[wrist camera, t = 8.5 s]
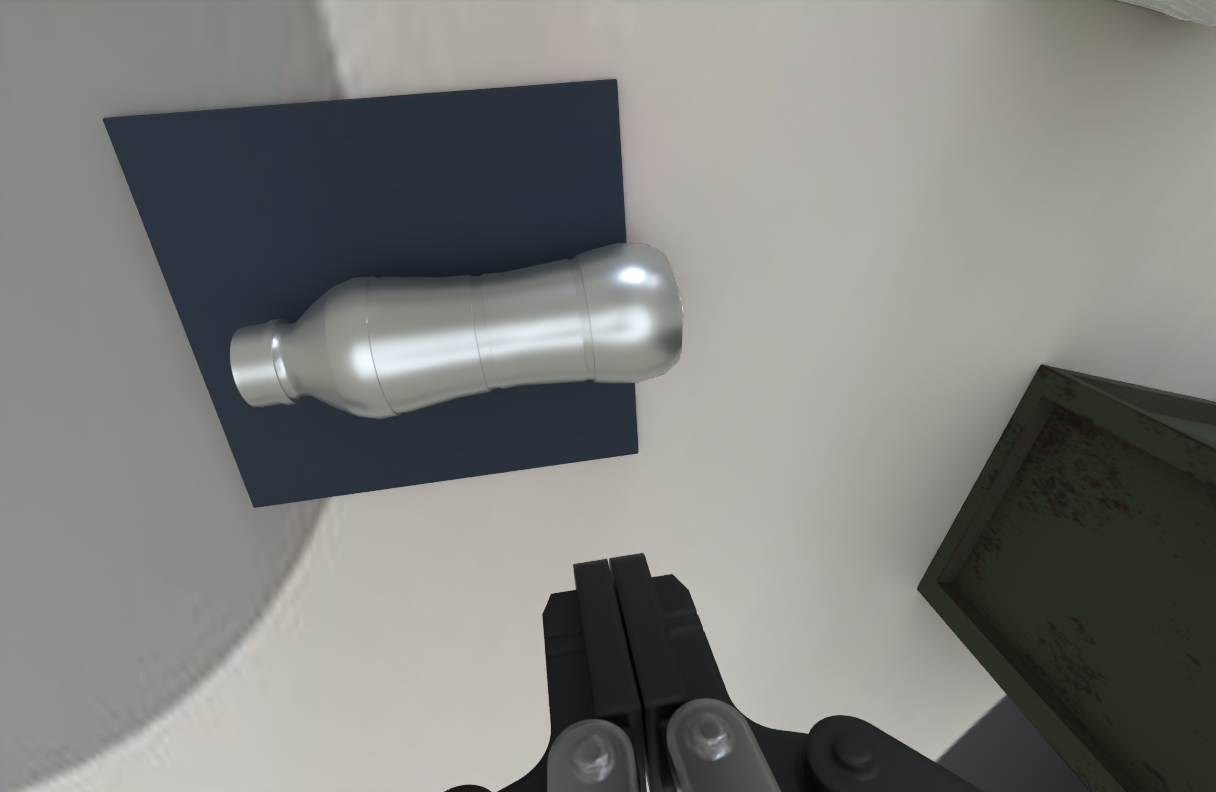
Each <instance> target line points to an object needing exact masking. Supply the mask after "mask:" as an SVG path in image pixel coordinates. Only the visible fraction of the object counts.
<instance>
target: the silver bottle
mask: <svg viewBox="0 0 1216 792" xmlns="http://www.w3.org/2000/svg"><path fill="white" fill-rule="evenodd" d="M682 331H683V304H682V299H681V296H680V293H679V290H678V287H677V284H676V281H675V278H674V275H673V271H672V268H671V266H670V263H669V260H668V259H667V257H666V255H665V254H664V253H663V252H661V251H659V250H657V249H655V248H653V247H651V246H649V245H646V244H627V243H615V244H612V245H608V246H604V247H600V248H596V249H592V250H589V251H586V252H583V253H581V254H578V255H575V258H573V259H570V260H568V259H564V260H559V261H554V262H550V263H545V264H540V265H535V266H531V267H526V268H521V269H517V270H512V271H507V272H502V273H488V274H482V276H471V275H462V276H450V277H380V278H377V277H374V276H373V277H357V278H352V279H350V280H348V281H345V282H343V283H341V284H338V285H336V286H334V287H332V288H331V289H329V290H328V291H327V292H326V293H325V294H324V295H322V296H321V297H320V298H319V299H318V300H317V301H315V302H314V303H313V304H312V305H311V307H310V308H309V309H308V310H307V311H306V312H305V313H304V314H303V315H302V316H301V317H300V318H299V319H298V320H297V321H296V322H295V323H292V324H291V323H290V322H289V321H287V320H286V319H275V320H271V321H268V322H267V323H264V324H258V325H251V326H245V327H243V328H240V329H238V330H237V331H236V332H235V333H234V335H233V337H232V340H231V346H230V361H231V368H232V373H233V377H234V380H235V383H236V385H237V388H238V390H239V392H240V394H241V395H242V397H243V398H244V400H245V401H246V402H247V403H248V404H250V405H251V406H253V407H266V406H272V405H278V404H286V405H291V404H297V403H301V402H302V401H303V400H304V398H305V396H312V397H314V398H316V399H318V400H320V401H322V402H324V403H326V404H328V405H330V406H332V407H334V408H337V409H340V410H342V411H345V412H348V413H350V414H353V415H356V416H359V417H367V418H375V419H383V418H387V417H392V416H397V415H400V414H402V412H405V413H407V412H411V411H414V410H418V409H421V408H425V407H428V406H432V405H435V404H438V403H442V402H445V401H449V400H452V399H456V398H459V397H465V396H470V395H475V394H480V393H485V392H490V391H491V390H492V389H497V388H501V389H506V388H511V387H516V386H521V385H536V384H552V383H568V382H584V381H586V380H593V381H594V382H597V383H639V382H642V381H645V380H648V379H651V378H654V377H657V376H660V375H664V374H665V373H666V372H667V371H668V370H669V369H671V368H672V367H673V366H674V365H675V364H676V363H677V362H678V361H679V359H680V356H681V349H682Z"/></svg>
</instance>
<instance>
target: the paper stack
mask: <svg viewBox="0 0 1216 792" xmlns="http://www.w3.org/2000/svg"><path fill="white" fill-rule="evenodd" d="M1117 1H1120V2H1125V3H1129V4H1134V5H1137V6H1141V7H1145V8H1148V9H1152V10H1155V11H1158V12H1161V13H1164V14H1167V15H1169V16H1172V17H1175V18H1177V19H1180V20H1183V21H1188V20H1191V21H1194V22H1197V23H1200V24H1203V25H1207V26H1216V0H1117Z"/></svg>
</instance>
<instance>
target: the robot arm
mask: <svg viewBox="0 0 1216 792" xmlns="http://www.w3.org/2000/svg"><path fill="white" fill-rule="evenodd" d="M609 565H610V569H609ZM573 569H574V577H575V585H576V590H572V591H566V592H560V593H554V594H551V596H550V598H549V600H548V603H547V605H546V607H545V610H544V612H543V628H544V639H545V654H546V668H547V681H548V694H549V707H550V720H551V736H550V741H549V744H548V747H547V750H546V752H545V754H544V756H543V757H542V759H541V760H540V761H539V763H538V764H537V765H536V766H535V767H534V768H533V769H532V770H531V771H530V772H529V773H528V774H527V775H525V776H524V777H522V778H521V779H519V780H518V781H516V782H514V783H512V784H510V785H509V786H507V787H505V788H503V789H501V790H499V791H498V792H647V788H646V776H647V781H648V786H649V791H650V792H984V791H982V790H981V789H979V788H977V787H975V786H974V785H972V784H971V783H969V782H967V781H966V780H964V779H962V778H961V777H959V776H957V775H956V774H954V773H952V772H950V771H949V770H947V769H945V768H944V767H942V766H940V765H939V764H937V763H935V762H934V761H932V760H930V759H929V758H927V757H925V756H924V755H922V754H920V753H919V752H917V751H915V750H914V749H912V748H910V747H909V746H907V745H905V744H904V743H902V742H900V741H899V740H897V739H895V738H893V737H892V736H890V735H888V734H887V733H885V732H883V731H882V730H880V729H878V728H877V727H875V726H873V725H872V724H870V723H868V722H866V721H864V720H861V719H859V718H856V717H851V716H844V715H837V716H830V717H826V718H824V719H822V720H820V721H819V722H817V723H816V724H815V725H814V726H813V727H812V729H811V730H810V732H809V734H806V733H798V732H790V731H783V730H776V729H771V728H767V727H764V726H762V725H759V724H757V723H755V722H753V721H752V720H750V719H749V718H747V717H746V716H745V715H743V714H742V713H741V712H740V711H739V710H738V709H737V708H736V707H735V705H734V704H733V702H732V701H731V699H730V697H729V695H728V693H727V690H726V688H725V685H724V682H723V680H722V677H721V674H720V672H719V669H718V666H717V664H716V661H715V658H714V656H713V653H712V651H711V648H710V645H709V643H708V640H707V637H706V635H705V632H704V631H703V627H702V624H701V621H700V619H699V616H698V615H697V612H696V608H695V606H694V603H693V600H692V598H691V595H690V592H689V590H688V589H687V588H686V587H685V586H684V585H683V584H682V583H681V582H680V581H679V580H678V579H677V578H676V577H675V576H674V575H673V574H670V575H664V576H657V577H651V574H650V571H649V568H648V564H647V561H646V558H645V555H644V554H643V553H640V554H634V555H627V556H621V557H615V558H610V559H609V564H608V561H607V559H603V560H597V561H590V562H584V563H578V564H573ZM645 772H646V774H645ZM445 792H491V791H490V790H488V789H486V788H484V787H482V786H477V785H461V786H457V787H454V788H451V789H449V790H447V791H445Z"/></svg>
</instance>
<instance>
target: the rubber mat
mask: <svg viewBox="0 0 1216 792" xmlns="http://www.w3.org/2000/svg"><path fill="white" fill-rule="evenodd" d="M103 121H104V124H105V126H106V129H107V131H108V134H109V137H110V139H111V142H112V144H113V147H114V149H115V152H116V155H117V157H118V160H119V162H120V165H121V167H122V170H123V173H124V175H125V178H126V180H127V183H128V185H129V188H130V191H131V193H132V196H133V198H134V201H135V203H136V206H137V209H138V211H139V214H140V216H141V219H142V221H143V224H144V227H145V229H146V232H147V234H148V237H149V239H150V242H151V245H152V247H153V250H154V252H155V255H156V257H157V260H158V263H159V265H160V268H161V270H162V273H163V275H164V278H165V281H166V283H167V286H168V288H169V291H170V293H171V296H172V299H173V301H174V304H175V306H176V309H177V311H178V314H179V317H180V319H181V322H182V324H183V327H184V329H185V332H186V335H187V337H188V340H189V342H190V345H191V347H192V350H193V353H194V355H195V358H196V360H197V363H198V365H199V368H200V371H201V373H202V376H203V378H204V381H205V383H206V386H207V389H208V391H209V394H210V396H211V399H212V401H213V404H214V407H215V409H216V412H217V414H218V417H219V419H220V422H221V425H222V427H223V430H224V432H225V435H226V437H227V440H228V443H229V445H230V448H231V450H232V453H233V455H234V458H235V461H236V463H237V466H238V468H239V471H240V473H241V476H242V479H243V481H244V484H245V486H246V489H247V491H248V494H249V496H250V499H251V502H252V504H253V507H254V508H256V507H263V506H270V505H277V504H284V503H291V502H298V501H305V500H312V499H319V498H326V497H333V496H340V495H347V494H354V493H361V492H369V491H376V490H383V489H390V488H397V487H404V486H411V485H418V484H425V483H432V482H439V481H446V480H453V479H460V478H467V477H474V476H481V475H489V474H496V473H503V472H510V471H517V470H524V469H531V468H538V467H545V466H552V465H559V464H566V463H573V462H580V461H587V460H594V459H602V458H609V457H616V456H623V455H630V454H637V453H638V435H637V418H636V401H635V383H597V382H594V381H593V380H586V381H584V382H568V383H552V384H536V385H521V386H516V387H511V388H506V389H501V388H497V389H492V390H491V391H490V392H485V393H480V394H475V395H470V396H465V397H459V398H456V399H452V400H449V401H445V402H442V403H438V404H435V405H432V406H428V407H425V408H421V409H418V410H414V411H411V412H407V413H405V412H402V414H400V415H397V416H392V417H387V418H383V419H375V418H367V417H359V416H356V415H353V414H350V413H348V412H345V411H342V410H340V409H337V408H334V407H332V406H330V405H328V404H326V403H324V402H322V401H320V400H318V399H316V398H314V397H312V396H305V398H304V400H303V401H302V402H301V403H297V404H291V405H286V404H278V405H272V406H266V407H253V406H251V405H250V404H248V403H247V402H246V401H245V400H244V398H243V397H242V395H241V394H240V392H239V390H238V388H237V385H236V383H235V380H234V377H233V373H232V368H231V361H230V346H231V340H232V337H233V335H234V333H235V332H236V331H237V330H238V329H240V328H243V327H245V326H251V325H258V324H264V323H267V322H268V321H271V320H275V319H286V320H287V321H289V322H290V323H291V324H292V323H295V322H296V321H297V320H298V319H299V318H300V317H301V316H302V315H303V314H304V313H305V312H306V311H307V310H308V309H309V308H310V307H311V305H312V304H313V303H314V302H315V301H317V300H318V299H319V298H320V297H321V296H322V295H324V294H325V293H326V292H327V291H328V290H329V289H331V288H332V287H334V286H336V285H338V284H341V283H343V282H345V281H348V280H350V279H352V278H357V277H373V276H374V277H377V278H380V277H450V276H462V275H471V276H482V274H488V273H502V272H507V271H512V270H517V269H521V268H526V267H531V266H535V265H540V264H545V263H550V262H554V261H559V260H564V259H568V260H570V259H573V258H575V255H578V254H581V253H583V252H586V251H589V250H592V249H596V248H600V247H604V246H608V245H612V244H615V243H626V228H625V210H624V193H623V176H622V158H621V141H620V124H619V106H618V89H617V80H616V79H609V80H596V81H583V82H570V83H557V84H544V85H531V86H517V87H504V88H491V89H478V90H465V91H452V92H439V93H426V94H413V95H399V96H386V97H373V98H360V99H347V100H334V101H321V102H308V103H294V104H281V105H268V106H255V107H242V108H229V109H216V110H203V111H190V112H176V113H163V114H150V115H137V116H124V117H111V118H104V119H103Z"/></svg>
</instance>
